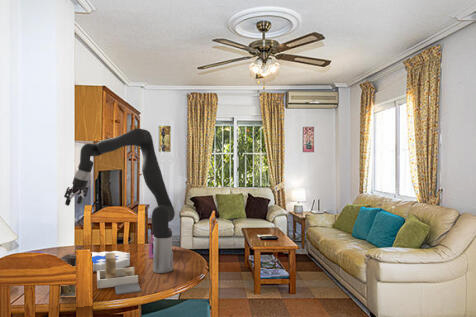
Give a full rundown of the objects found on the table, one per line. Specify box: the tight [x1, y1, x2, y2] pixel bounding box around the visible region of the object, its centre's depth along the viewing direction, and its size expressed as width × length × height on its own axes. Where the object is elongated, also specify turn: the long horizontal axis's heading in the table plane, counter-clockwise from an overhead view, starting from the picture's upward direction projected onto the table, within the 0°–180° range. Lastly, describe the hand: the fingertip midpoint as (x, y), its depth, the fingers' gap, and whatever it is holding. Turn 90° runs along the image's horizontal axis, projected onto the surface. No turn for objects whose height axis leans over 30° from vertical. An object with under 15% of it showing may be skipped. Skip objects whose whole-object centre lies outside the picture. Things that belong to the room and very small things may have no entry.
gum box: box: [148, 227, 172, 259], centre depth 210 cm, size 24×8×14 cm, turn 177°
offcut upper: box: [123, 266, 135, 276], centre depth 163 cm, size 4×7×2 cm, turn 26°
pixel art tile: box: [91, 250, 131, 272], centre depth 187 cm, size 28×4×28 cm
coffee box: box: [59, 253, 76, 297], centre depth 143 cm, size 9×6×16 cm
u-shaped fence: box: [96, 266, 139, 289], centre depth 160 cm, size 17×15×4 cm
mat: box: [114, 282, 142, 295], centre depth 150 cm, size 10×10×1 cm
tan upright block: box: [104, 253, 117, 279], centre depth 159 cm, size 4×10×12 cm, turn 23°
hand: (72, 204), depth 194 cm, fingers open, 8 cm apart
